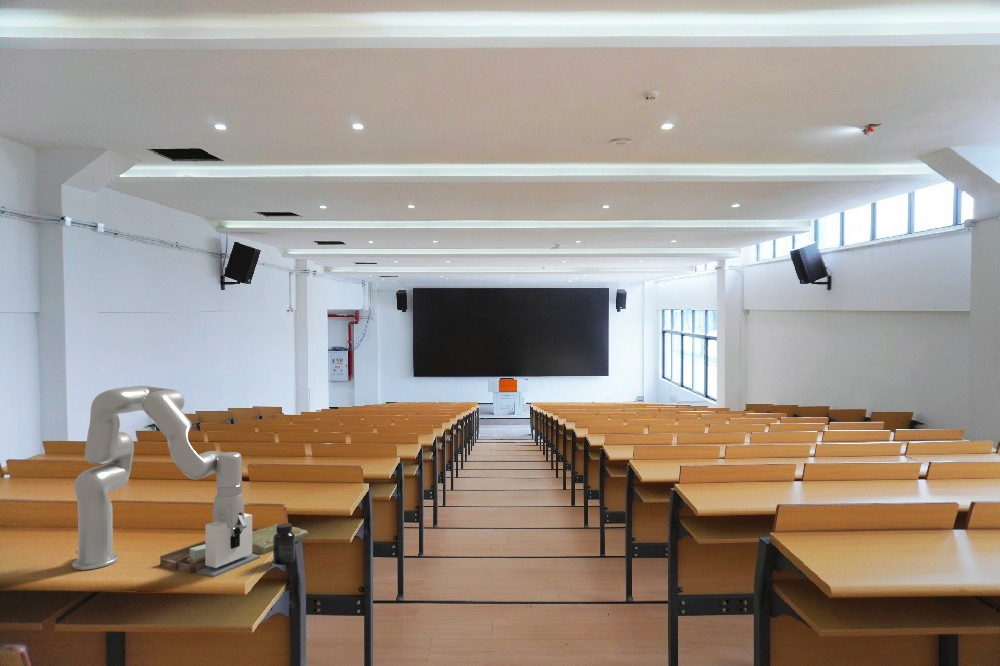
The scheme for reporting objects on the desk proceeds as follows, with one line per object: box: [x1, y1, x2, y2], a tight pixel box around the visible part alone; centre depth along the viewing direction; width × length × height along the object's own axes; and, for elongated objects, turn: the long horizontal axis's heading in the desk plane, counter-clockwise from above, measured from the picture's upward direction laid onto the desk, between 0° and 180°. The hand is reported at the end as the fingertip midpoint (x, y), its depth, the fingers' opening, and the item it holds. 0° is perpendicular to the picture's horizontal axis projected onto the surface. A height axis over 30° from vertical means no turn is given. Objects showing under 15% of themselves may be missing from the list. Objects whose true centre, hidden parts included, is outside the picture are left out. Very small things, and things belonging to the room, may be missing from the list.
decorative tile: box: [252, 523, 309, 555], centre depth 215 cm, size 19×20×4 cm
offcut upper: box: [190, 544, 205, 560], centre depth 195 cm, size 4×10×3 cm, turn 142°
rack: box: [159, 540, 207, 574], centre depth 197 cm, size 16×18×3 cm
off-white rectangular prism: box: [204, 512, 253, 568], centre depth 193 cm, size 5×14×13 cm, turn 154°
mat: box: [196, 553, 261, 578], centre depth 193 cm, size 8×18×1 cm, turn 154°
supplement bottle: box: [272, 522, 296, 566], centre depth 196 cm, size 7×7×12 cm
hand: (229, 545), depth 193 cm, fingers closed on off-white rectangular prism, 4 cm apart
